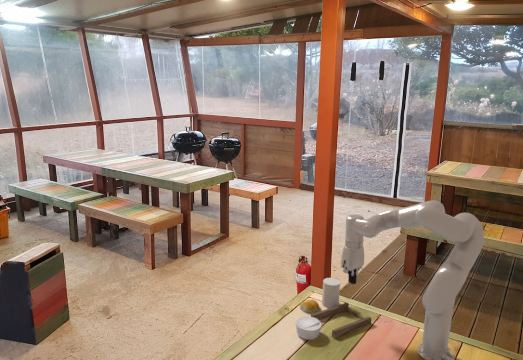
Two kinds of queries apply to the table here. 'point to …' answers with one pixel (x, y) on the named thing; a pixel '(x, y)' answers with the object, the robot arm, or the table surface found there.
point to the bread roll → (309, 306)
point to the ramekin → (308, 327)
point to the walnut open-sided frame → (347, 327)
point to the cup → (330, 292)
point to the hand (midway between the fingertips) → (352, 282)
